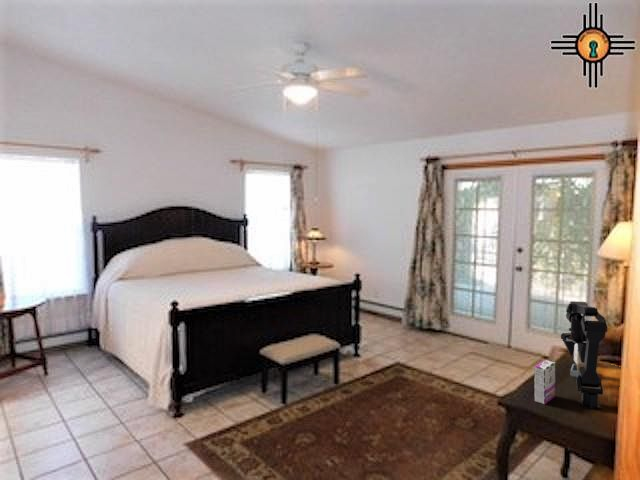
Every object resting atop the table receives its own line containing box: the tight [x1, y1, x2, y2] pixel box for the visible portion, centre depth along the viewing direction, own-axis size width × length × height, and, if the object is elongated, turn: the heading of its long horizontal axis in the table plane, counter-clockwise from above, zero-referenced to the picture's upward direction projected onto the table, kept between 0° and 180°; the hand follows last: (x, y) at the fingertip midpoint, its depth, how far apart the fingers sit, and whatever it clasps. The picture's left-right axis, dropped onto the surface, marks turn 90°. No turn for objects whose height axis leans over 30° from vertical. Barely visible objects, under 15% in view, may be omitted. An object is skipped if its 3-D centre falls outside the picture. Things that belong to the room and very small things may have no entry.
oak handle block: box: [577, 353, 584, 372], centre depth 217 cm, size 5×5×13 cm
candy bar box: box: [533, 359, 556, 405], centre depth 193 cm, size 11×5×16 cm, turn 129°
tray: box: [569, 363, 579, 378], centre depth 218 cm, size 10×10×3 cm
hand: (577, 359), depth 206 cm, fingers open, 9 cm apart
